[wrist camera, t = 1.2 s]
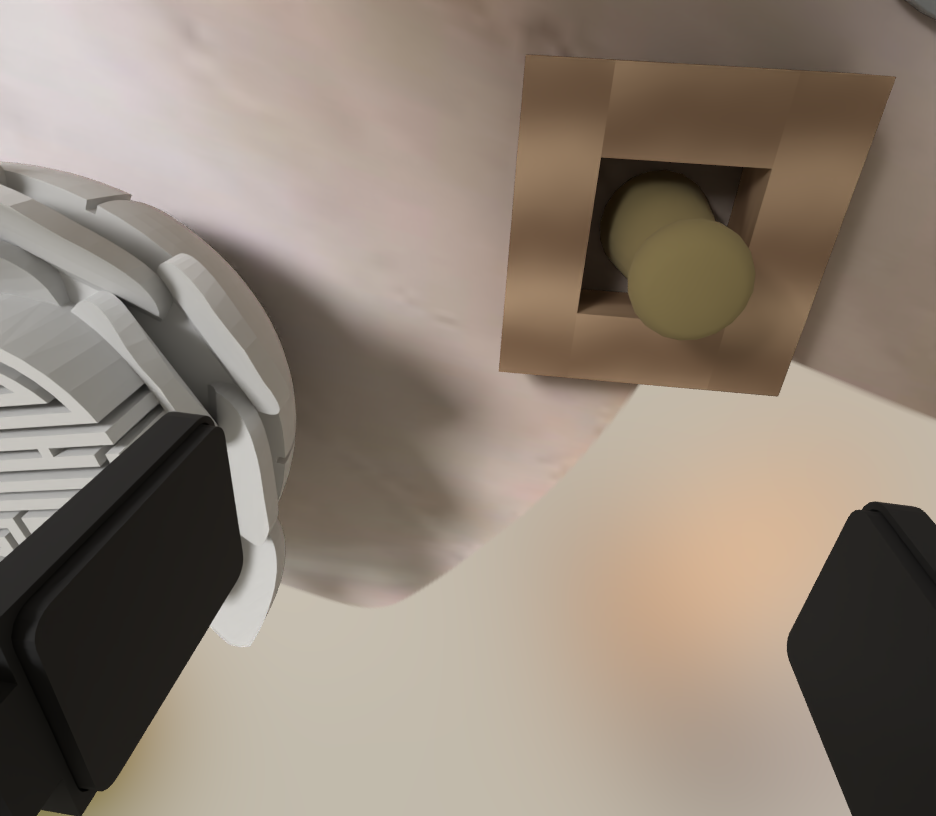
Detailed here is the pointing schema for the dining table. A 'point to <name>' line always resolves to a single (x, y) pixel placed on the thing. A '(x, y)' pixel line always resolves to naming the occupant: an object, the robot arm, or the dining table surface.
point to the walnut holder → (685, 141)
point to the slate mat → (925, 7)
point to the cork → (676, 256)
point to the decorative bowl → (132, 363)
